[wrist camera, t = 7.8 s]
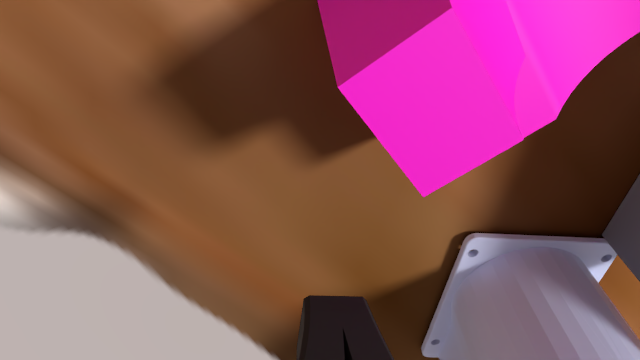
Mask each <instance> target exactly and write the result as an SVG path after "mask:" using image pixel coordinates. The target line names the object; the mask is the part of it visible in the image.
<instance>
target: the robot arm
mask: <svg viewBox="0 0 640 360" xmlns="http://www.w3.org/2000/svg"><path fill="white" fill-rule="evenodd" d="M471 250H473V251H471ZM616 256H617V253H616V252H615V251H614V249H613V248H612V247H611V246H610V245H609V243H608V242H607V241H606V240H605V238H583V237H559V236H536V235H513V234H489V233H473V234H470V235H468V236H467V237H466V238H465V239H464V241H463V244H462V246H461V249H460V251H459V254H458V256H457V259H456V261H455V264H454V266H453V269H452V271H451V274H450V276H449V279H448V282H447V284H446V287H445V289H444V292H443V294H442V297H441V299H440V302H439V304H438V307H437V309H436V312H435V314H434V317H433V319H432V322H431V324H430V327H429V329H428V332H427V334H426V337H425V339H424V342H423V344H422V347H421V351H422V354H423V356H425V357H439V360H640V340H639V339H638V337H637V336H636V335H635V333H634V332H633V330H632V329H631V328H630V326H629V325H628V323H627V322H626V321H625V319H624V318H623V316H622V315H621V314H620V312H619V311H618V310H617V308H616V307H615V305H614V304H613V303H612V301H611V300H610V298H609V297H608V296H607V294H606V293H605V291H604V290H603V289H602V287H601V286H600V285H599V281H600V280H601V278H602V277H603V275H604V274H605V272H606V271H607V269H608V268H609V266H610V265H611V263H612V262H613V260H614V259H615V257H616ZM297 360H394V358H393V357H392V355H391V353H390V351H389V349H388V347H387V345H386V343H385V341H384V339H383V337H382V335H381V333H380V331H379V328H378V326H377V324H376V322H375V320H374V318H373V315H372V313H371V311H370V308H369V306H368V304H367V301H366V300H365V299H364V298H363V297H349V296H308V297H306V298H304V301H303V308H302V315H301V322H300V329H299V336H298V343H297Z"/></svg>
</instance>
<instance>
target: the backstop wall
mask: <svg viewBox="0 0 640 360" xmlns="http://www.w3.org/2000/svg"><path fill="white" fill-rule="evenodd" d="M602 236H603V237H604V238H605V240H606V241H607V242H608V243H609V245H610V246H611V247H612V248H613V249H614V251H615V252H616V253H617V254H618V256H619V257H620V258H621V259H622V260H623V262H624V263H625V264H626V265H627V267H628V268H629V269H630V270H631V272H632V273H633V274H634V275H635V276H636V278H637V279H638V280H639V281H640V174H639V176H638V177H637V179H636V181H635V182H634V184H633V186H632V187H631V189H630V190H629V192H628V194H627V195H626V197H625V198H624V200H623V202H622V203H621V205H620V206H619V208H618V210H617V211H616V213H615V214H614V216H613V218H612V219H611V221H610V222H609V224H608V226H607V227H606V229H605V230H604V232H603V234H602Z"/></svg>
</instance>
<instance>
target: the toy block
mask: <svg viewBox="0 0 640 360" xmlns="http://www.w3.org/2000/svg"><path fill="white" fill-rule="evenodd" d="M317 1H318V6H319V10H320V14H321V19H322V23H323V27H324V31H325V36H326V40H327V44H328V48H329V53H330V57H331V61H332V66H333V70H334V74H335V78H336V83H337V87H338V88H339V90H340V91H341V92H342V94H343V95H344V96H345V97H346V99H347V100H348V101H349V103H350V104H351V105H352V106H353V108H354V109H355V110H356V112H357V113H358V114H359V115H360V117H361V118H362V119H363V121H364V122H365V123H366V124H367V126H368V127H369V128H370V130H371V131H372V132H373V133H374V135H375V136H376V137H377V139H378V140H379V141H380V142H381V144H382V145H383V146H384V147H385V149H386V150H387V151H388V153H389V154H390V155H391V156H392V158H393V159H394V160H395V162H396V163H397V164H398V165H399V167H400V168H401V169H402V171H403V172H404V173H405V174H406V176H407V177H408V178H409V180H410V181H411V182H412V183H413V185H414V186H415V187H416V189H417V190H418V191H419V192H420V194H421V195H422V196H423V197H425V196H427V195H428V194H430V193H432V192H434V191H435V190H437V189H439V188H441V187H442V186H444V185H446V184H448V183H449V182H451V181H453V180H454V179H456V178H458V177H460V176H461V175H463V174H465V173H467V172H468V171H470V170H472V169H474V168H475V167H477V166H479V165H481V164H482V163H484V162H486V161H488V160H489V159H491V158H493V157H495V156H496V155H498V154H500V153H502V152H503V151H505V150H507V149H509V148H510V147H512V146H514V145H516V144H517V143H519V142H521V141H523V140H524V137H526V136H528V135H529V134H531V133H533V132H535V131H536V130H538V129H540V128H542V127H543V126H545V125H547V124H549V123H550V122H552V121H554V120H556V118H557V116H558V114H559V112H560V110H561V108H562V106H563V105H564V103H565V102H566V100H567V99H568V97H569V96H570V94H571V93H572V91H573V90H574V89H575V88H576V86H577V85H578V84H579V83H580V81H581V80H582V79H583V78H584V77H585V76H586V75H587V74H588V73H589V72H590V71H591V70H592V69H593V68H594V67H595V66H596V65H597V64H598V63H599V62H600V61H601V60H603V59H604V58H605V57H606V56H607V55H608V54H610V53H611V52H612V51H613V50H615V49H616V48H617V47H619V46H620V45H621V44H623V43H624V42H625V41H627V40H628V39H630V38H631V37H633V36H634V35H636V34H637V33H639V32H640V0H317Z"/></svg>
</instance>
